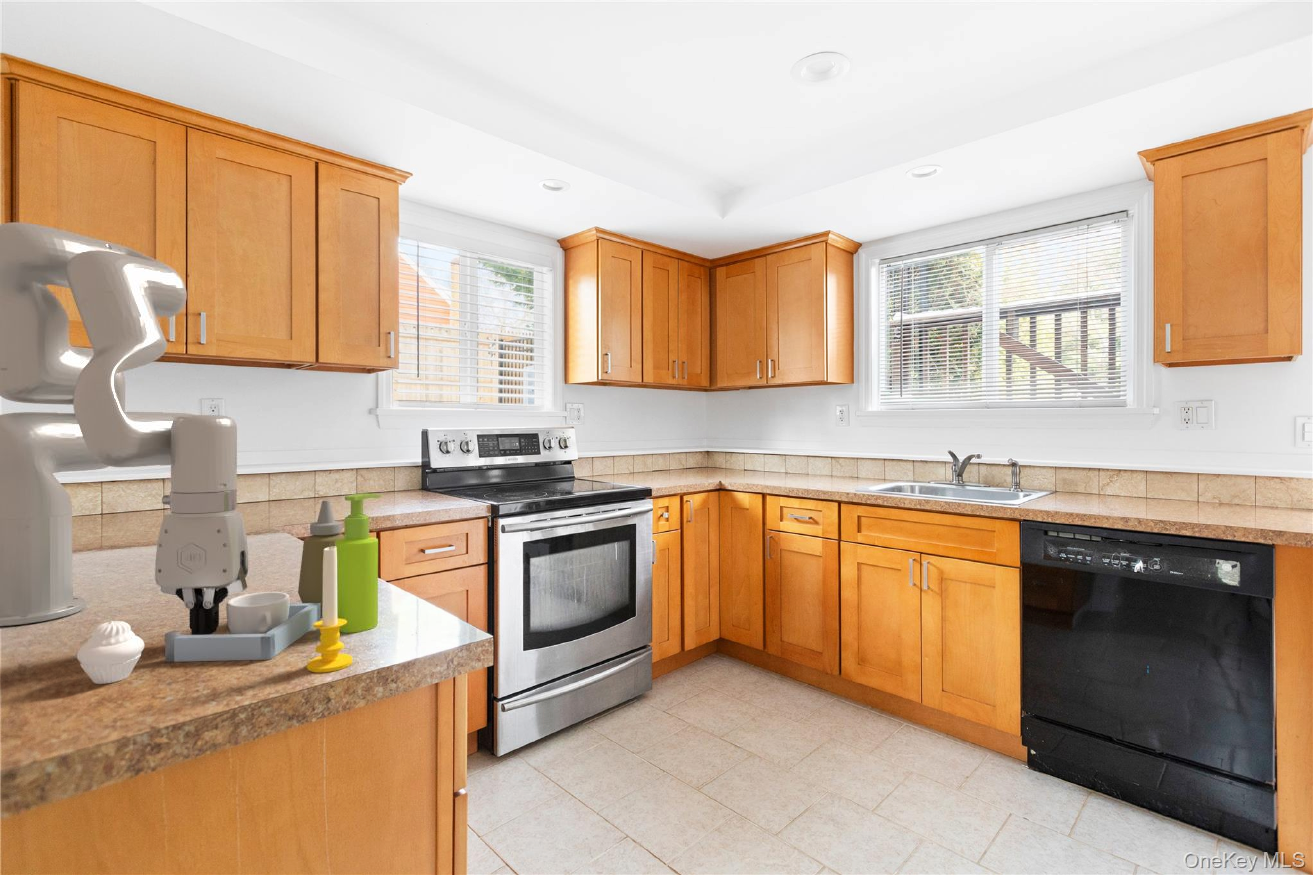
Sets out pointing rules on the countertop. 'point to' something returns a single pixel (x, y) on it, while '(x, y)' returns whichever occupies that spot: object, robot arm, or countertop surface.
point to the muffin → (110, 652)
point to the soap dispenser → (357, 570)
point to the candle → (329, 621)
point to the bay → (243, 639)
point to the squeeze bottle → (317, 554)
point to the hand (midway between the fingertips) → (204, 633)
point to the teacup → (257, 612)
